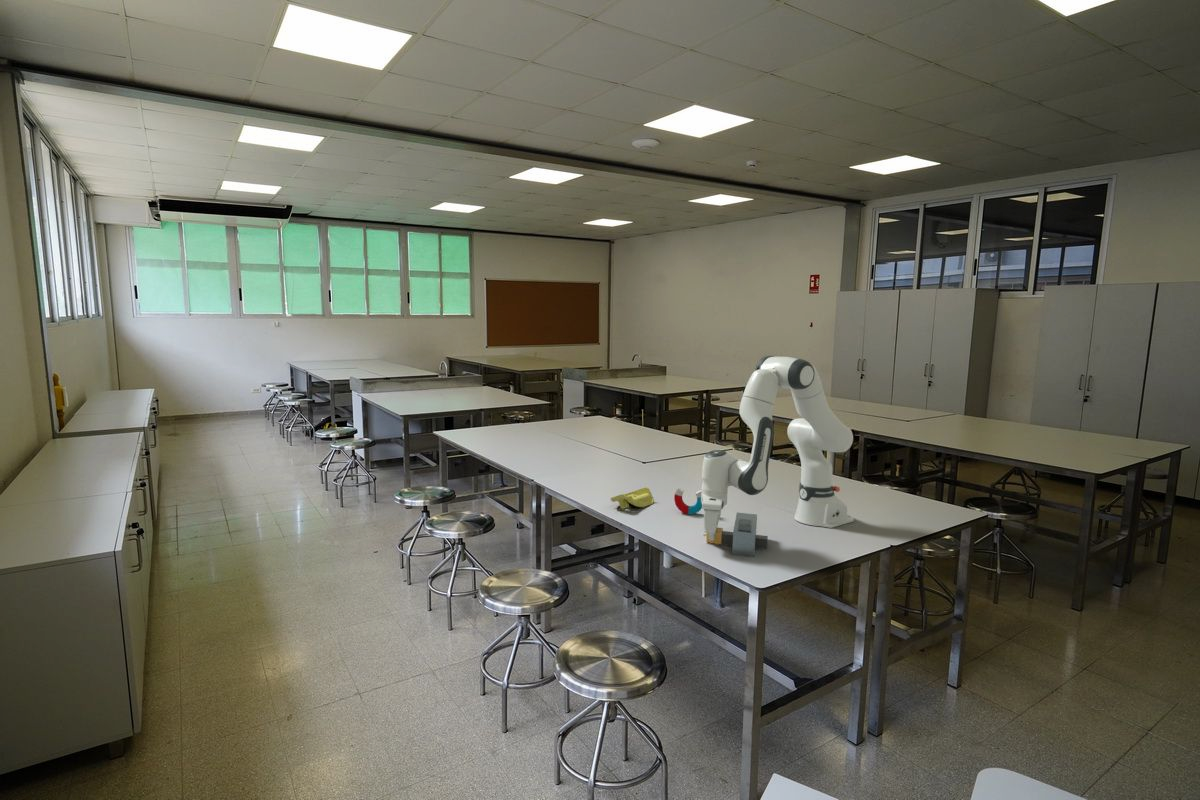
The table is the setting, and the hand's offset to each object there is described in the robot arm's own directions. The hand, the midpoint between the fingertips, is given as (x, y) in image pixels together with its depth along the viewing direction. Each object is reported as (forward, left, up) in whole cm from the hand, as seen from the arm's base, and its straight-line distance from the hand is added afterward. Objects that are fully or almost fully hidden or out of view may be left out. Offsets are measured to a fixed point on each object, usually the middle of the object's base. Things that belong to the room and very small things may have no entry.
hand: (712, 536), depth 207 cm
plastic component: (+8, -47, -2) cm, 48 cm away
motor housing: (-9, +7, -2) cm, 11 cm away
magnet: (-9, -29, -2) cm, 30 cm away
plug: (-6, +5, -2) cm, 8 cm away
